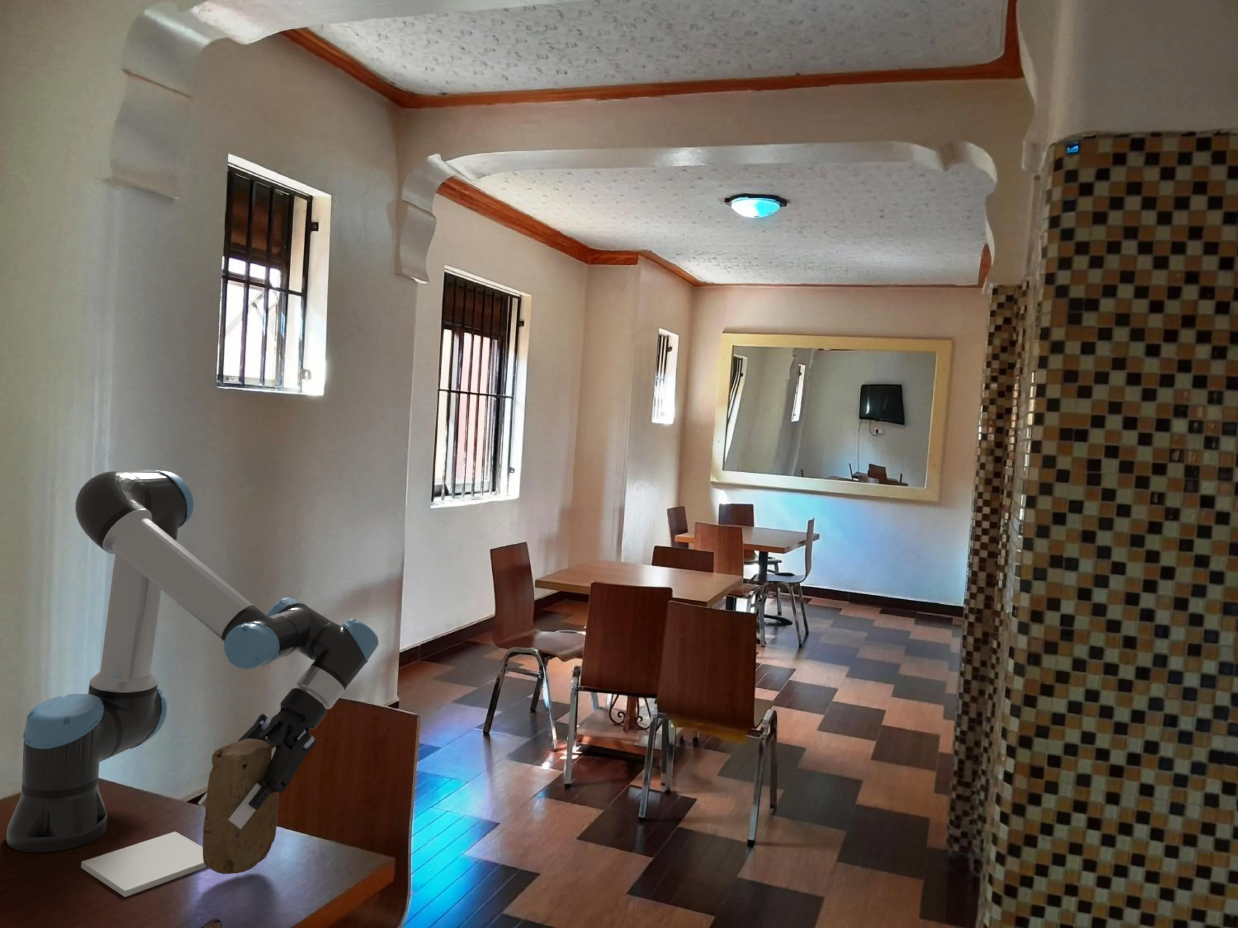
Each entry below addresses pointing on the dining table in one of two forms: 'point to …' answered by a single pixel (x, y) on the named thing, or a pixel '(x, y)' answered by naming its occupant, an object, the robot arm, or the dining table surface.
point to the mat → (146, 863)
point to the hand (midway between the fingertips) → (219, 815)
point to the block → (225, 792)
